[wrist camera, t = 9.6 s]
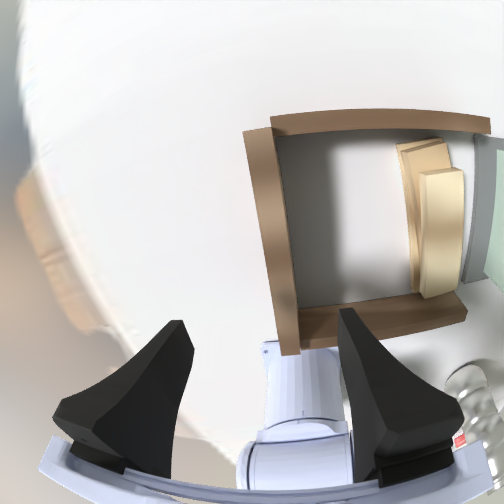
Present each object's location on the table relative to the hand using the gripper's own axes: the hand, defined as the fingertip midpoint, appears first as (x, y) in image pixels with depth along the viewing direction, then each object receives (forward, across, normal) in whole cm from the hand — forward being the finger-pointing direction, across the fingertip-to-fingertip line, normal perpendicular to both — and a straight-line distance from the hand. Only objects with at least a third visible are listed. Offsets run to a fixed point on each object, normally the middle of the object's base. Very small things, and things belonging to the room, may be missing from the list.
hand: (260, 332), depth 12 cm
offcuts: (+11, -13, 0) cm, 17 cm away
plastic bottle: (+10, -25, +24) cm, 36 cm away
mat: (+10, -23, 0) cm, 25 cm away
